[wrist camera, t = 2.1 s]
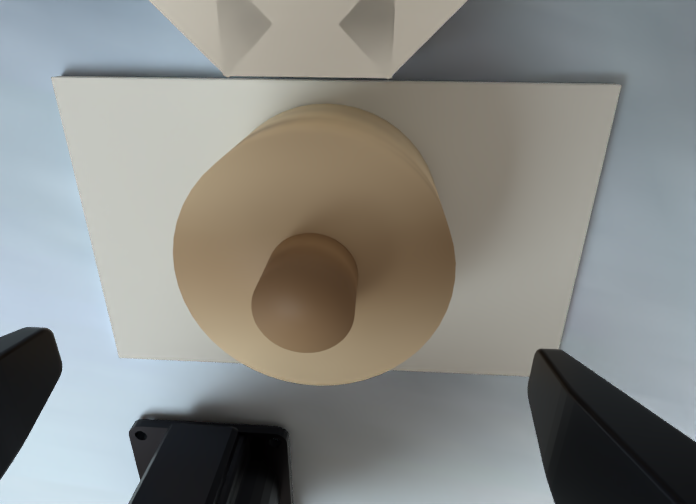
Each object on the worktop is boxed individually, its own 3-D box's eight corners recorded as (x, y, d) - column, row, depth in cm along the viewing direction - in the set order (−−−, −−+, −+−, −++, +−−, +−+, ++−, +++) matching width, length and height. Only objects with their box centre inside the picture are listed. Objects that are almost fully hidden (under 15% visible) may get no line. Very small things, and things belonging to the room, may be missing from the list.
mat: (548, 370, 18) (552, 377, 17) (124, 351, 19) (119, 358, 18) (615, 83, 13) (621, 85, 13) (59, 76, 14) (50, 77, 14)
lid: (429, 311, 17) (449, 438, 11) (232, 303, 17) (169, 423, 12) (447, 105, 14) (486, 154, 9) (210, 101, 14) (114, 146, 9)
